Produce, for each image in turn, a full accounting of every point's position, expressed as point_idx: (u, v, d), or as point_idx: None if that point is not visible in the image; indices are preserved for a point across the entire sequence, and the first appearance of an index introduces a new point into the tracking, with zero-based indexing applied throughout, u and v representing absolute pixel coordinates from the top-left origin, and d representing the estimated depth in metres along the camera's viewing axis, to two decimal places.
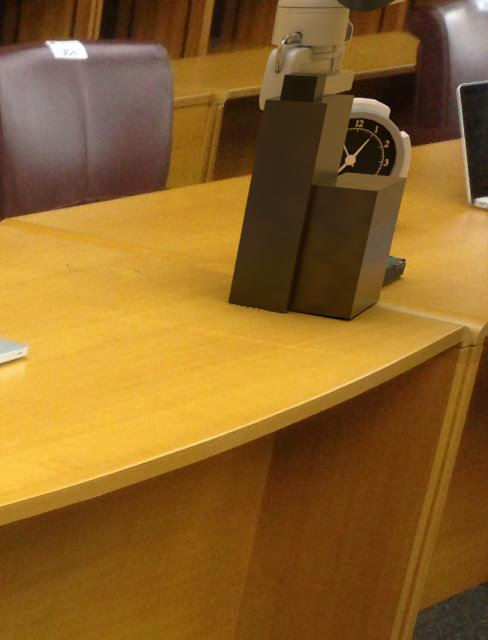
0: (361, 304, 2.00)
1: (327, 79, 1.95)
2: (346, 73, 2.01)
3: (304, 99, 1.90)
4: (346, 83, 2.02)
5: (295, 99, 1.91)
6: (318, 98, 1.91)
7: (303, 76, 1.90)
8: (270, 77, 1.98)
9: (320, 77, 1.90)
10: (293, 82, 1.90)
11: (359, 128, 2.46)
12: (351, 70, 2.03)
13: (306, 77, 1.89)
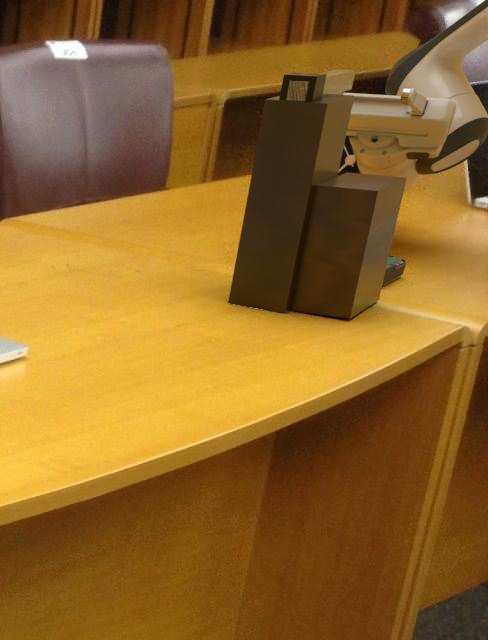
0: (361, 304, 2.00)
1: (327, 79, 1.95)
2: (346, 73, 2.01)
3: (303, 99, 1.90)
4: (346, 83, 2.02)
5: (294, 99, 1.91)
6: (317, 98, 1.91)
7: (302, 76, 1.90)
8: None
9: (319, 77, 1.90)
10: (292, 82, 1.91)
11: None
12: (351, 70, 2.03)
13: (305, 77, 1.89)
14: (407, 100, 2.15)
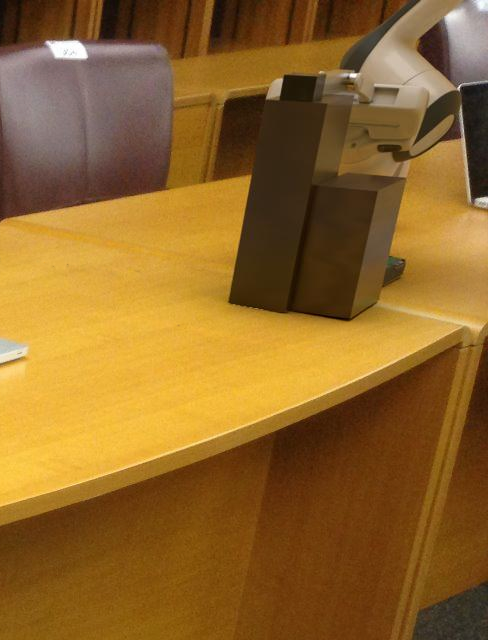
0: (361, 304, 2.00)
1: (327, 79, 1.95)
2: (346, 73, 2.01)
3: (303, 99, 1.90)
4: None
5: (294, 99, 1.91)
6: (317, 98, 1.91)
7: (302, 76, 1.90)
8: None
9: (319, 77, 1.90)
10: (292, 82, 1.91)
11: None
12: (351, 70, 2.03)
13: (305, 77, 1.89)
14: (353, 86, 2.01)
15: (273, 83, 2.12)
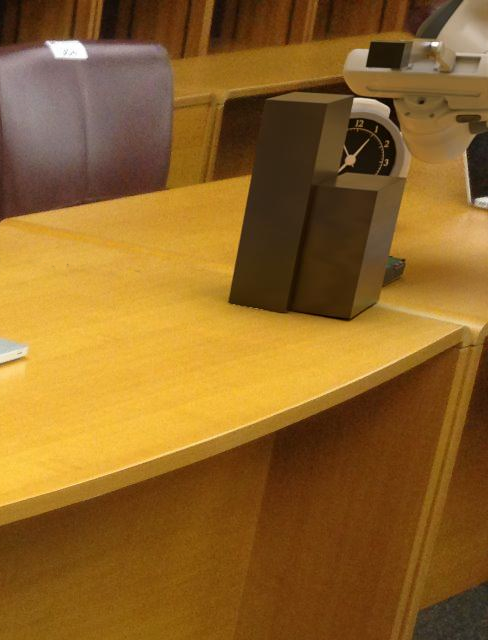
0: (361, 304, 2.00)
1: (412, 46, 1.94)
2: (428, 41, 2.00)
3: (391, 66, 1.89)
4: None
5: (381, 66, 1.90)
6: (404, 65, 1.90)
7: (390, 43, 1.89)
8: None
9: (407, 44, 1.88)
10: (379, 49, 1.89)
11: (359, 128, 2.46)
12: (432, 39, 2.02)
13: (393, 44, 1.88)
14: (435, 54, 2.00)
15: (351, 53, 2.11)
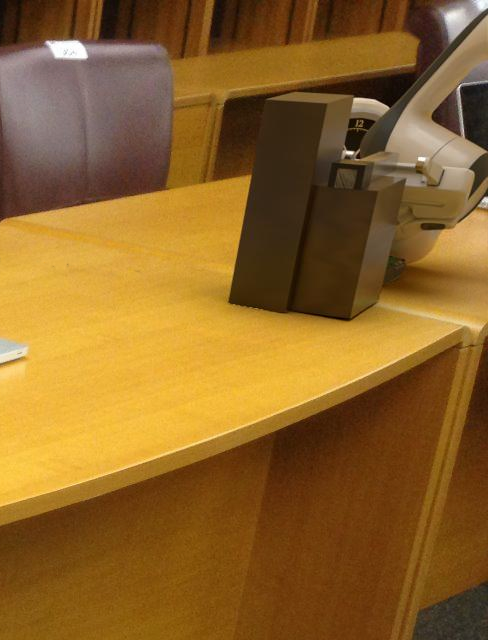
0: (361, 304, 2.00)
1: (374, 165, 1.96)
2: (391, 157, 2.02)
3: (352, 187, 1.91)
4: (391, 166, 2.03)
5: (343, 187, 1.92)
6: (365, 185, 1.92)
7: (351, 164, 1.91)
8: None
9: (368, 165, 1.91)
10: (341, 170, 1.91)
11: (359, 128, 2.46)
12: (396, 153, 2.04)
13: (354, 165, 1.90)
14: (422, 169, 2.01)
15: None
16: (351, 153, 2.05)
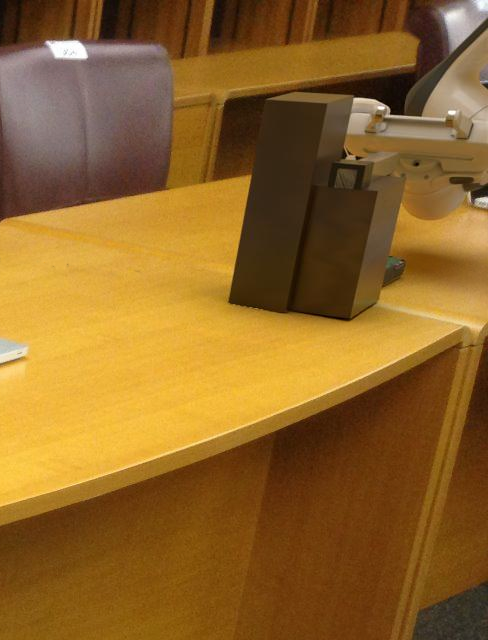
0: (361, 304, 2.00)
1: (374, 165, 1.96)
2: (391, 157, 2.02)
3: (352, 187, 1.91)
4: (391, 166, 2.03)
5: (343, 187, 1.92)
6: (365, 185, 1.92)
7: (351, 164, 1.91)
8: None
9: (368, 165, 1.91)
10: (341, 170, 1.91)
11: None
12: (396, 153, 2.04)
13: (354, 165, 1.90)
14: (453, 122, 2.07)
15: None
16: (382, 108, 2.12)
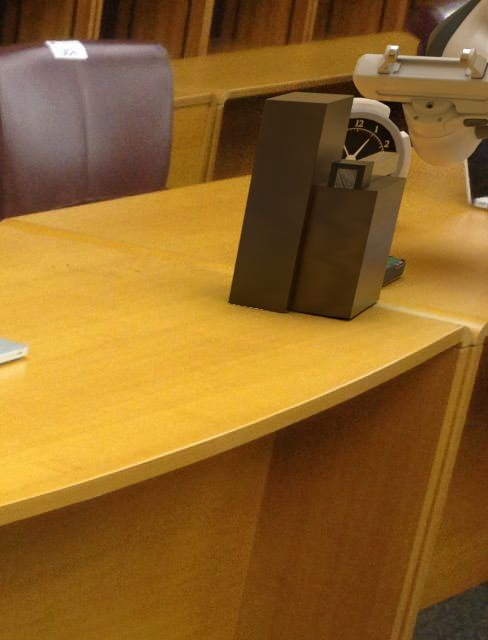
0: (361, 304, 2.00)
1: (374, 165, 1.96)
2: (391, 157, 2.02)
3: (352, 187, 1.91)
4: (391, 166, 2.03)
5: (343, 187, 1.92)
6: (365, 185, 1.92)
7: (351, 164, 1.91)
8: None
9: (368, 165, 1.91)
10: (341, 170, 1.91)
11: (359, 128, 2.46)
12: (396, 153, 2.04)
13: (354, 165, 1.90)
14: (467, 61, 2.03)
15: (361, 58, 2.15)
16: (396, 47, 2.08)
